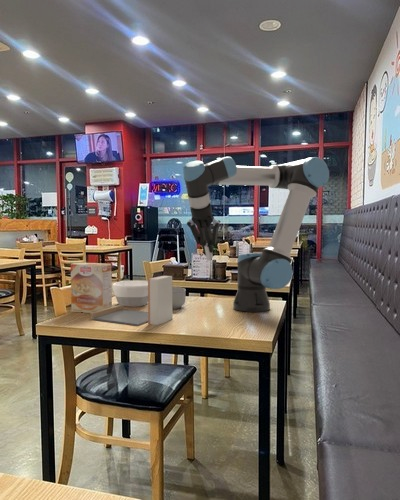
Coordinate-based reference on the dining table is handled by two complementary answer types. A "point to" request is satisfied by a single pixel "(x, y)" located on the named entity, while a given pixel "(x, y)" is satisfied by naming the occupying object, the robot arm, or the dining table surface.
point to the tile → (159, 300)
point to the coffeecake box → (90, 287)
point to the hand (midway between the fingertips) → (209, 258)
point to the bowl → (131, 293)
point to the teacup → (178, 297)
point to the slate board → (121, 316)
